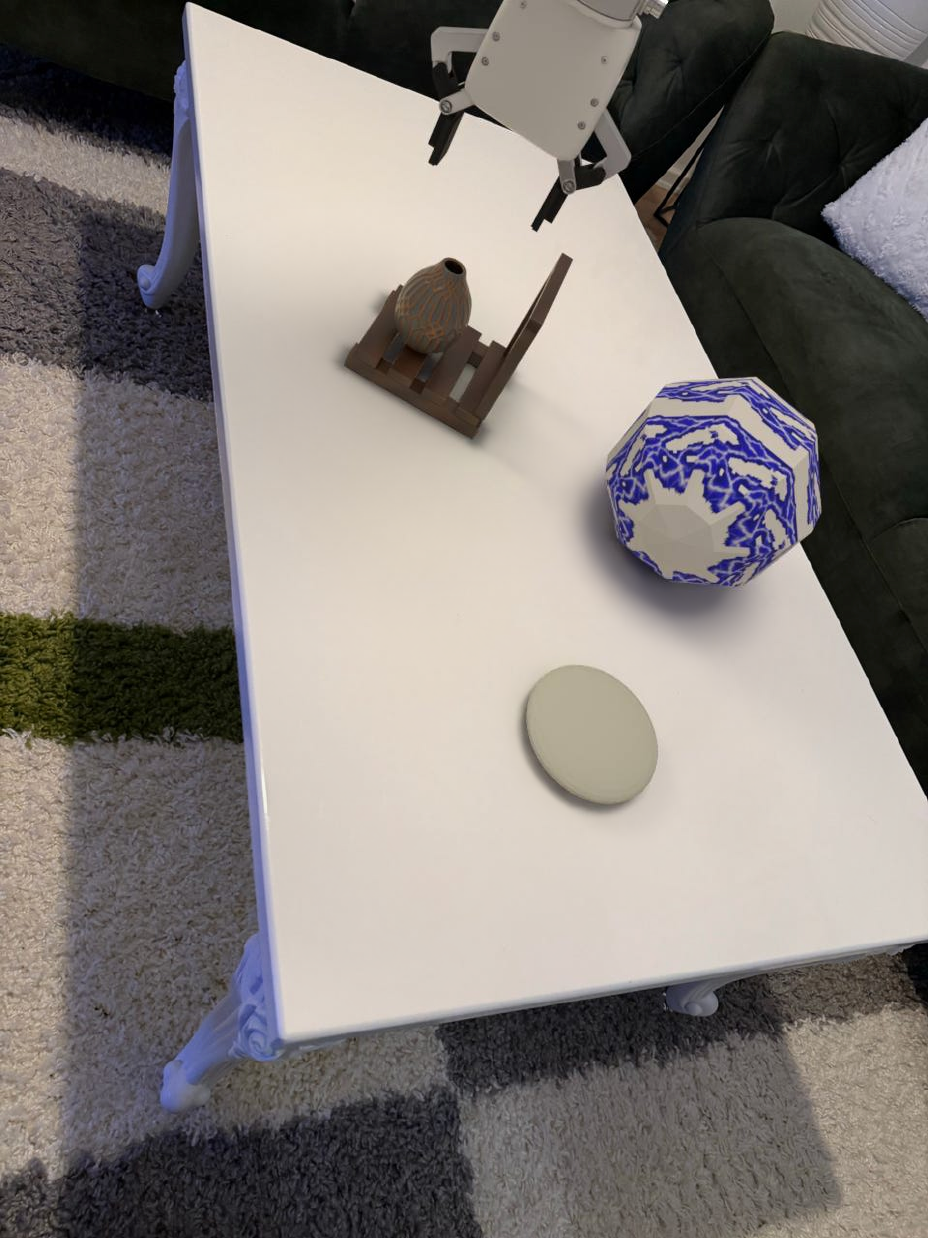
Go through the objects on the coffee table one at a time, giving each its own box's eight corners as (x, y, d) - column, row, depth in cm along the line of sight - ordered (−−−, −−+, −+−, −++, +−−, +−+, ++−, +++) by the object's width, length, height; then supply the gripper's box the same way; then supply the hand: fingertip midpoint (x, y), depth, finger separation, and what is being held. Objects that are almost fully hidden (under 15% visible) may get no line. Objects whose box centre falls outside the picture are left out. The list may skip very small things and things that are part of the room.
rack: (343, 364, 83) (395, 236, 72) (388, 300, 91) (441, 175, 80) (472, 439, 85) (542, 325, 74) (505, 370, 93) (574, 257, 81)
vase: (389, 303, 87) (421, 228, 80) (454, 328, 89) (490, 257, 82) (382, 350, 83) (415, 275, 76) (450, 374, 85) (488, 304, 78)
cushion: (613, 840, 69) (634, 828, 66) (492, 743, 69) (509, 727, 66) (666, 735, 76) (686, 721, 74) (558, 647, 76) (575, 630, 74)
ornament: (588, 403, 72) (675, 310, 84) (554, 580, 86) (633, 478, 98) (828, 489, 65) (884, 376, 78) (749, 665, 80) (807, 545, 92)
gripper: (707, 29, 63) (585, 228, 77) (501, -117, 61) (411, 115, 74) (694, 62, 59) (566, 269, 72) (470, -94, 56) (379, 150, 69)
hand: (487, 191), depth 73 cm, fingers open, 9 cm apart
